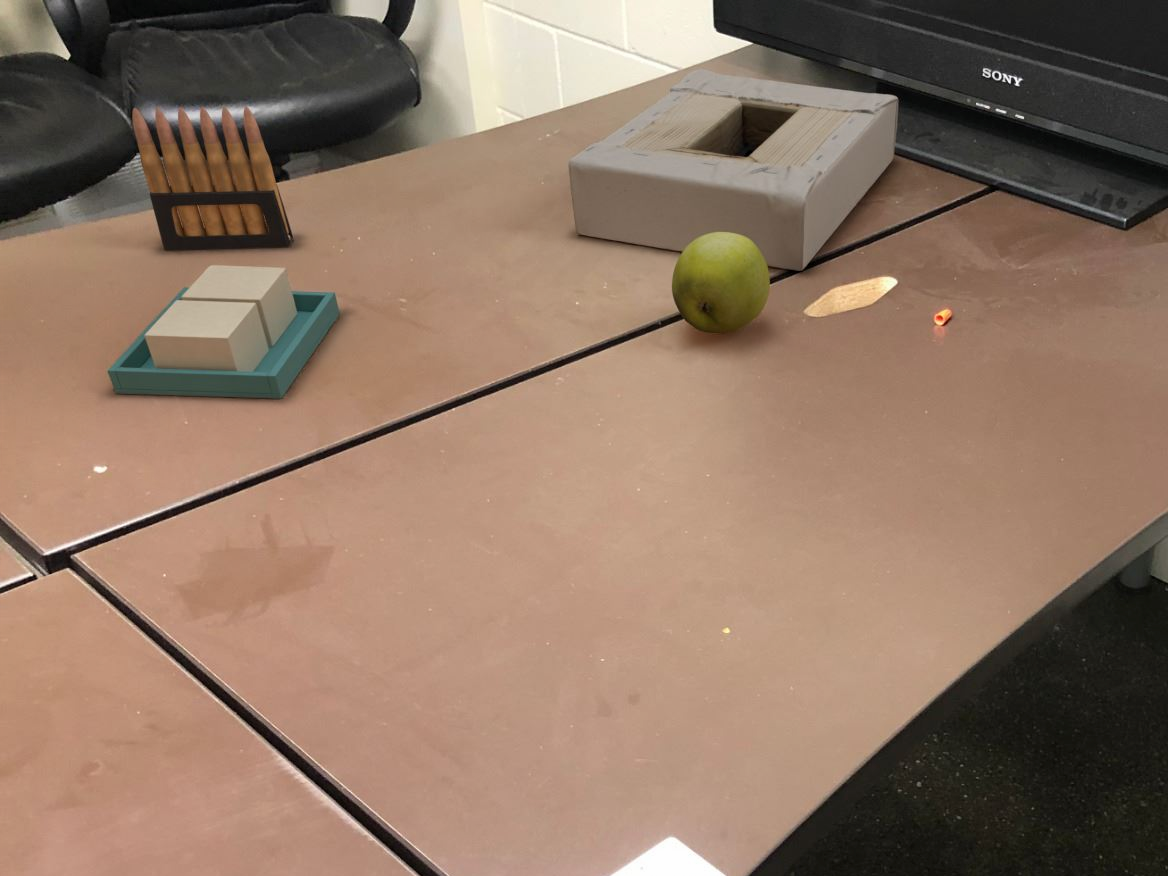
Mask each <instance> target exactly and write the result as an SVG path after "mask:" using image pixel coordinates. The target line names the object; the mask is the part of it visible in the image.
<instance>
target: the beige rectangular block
mask: <svg viewBox="0 0 1168 876" xmlns="http://www.w3.org/2000/svg"><path fill="white" fill-rule="evenodd" d="M189 287H190V288H189V289H188V290H187V291H186V292H185V293H184V294H183V295H182V297H181V298H182V300H187V301H215V302H244V303H256V305H257V309H258V312H259V316H260V320H261V323H262V327H263V330H264V334H265V337H266V341H267V344H268V347H273V346H274V345H275V344H276V342H277V341H278V340H279V338H280V337H281V335H282V334H283V333H284V331H285V330H286V329H287V327H288V326H289V325H290V323H291V322H292V321H293V319H294V318H295V317H296V315H297V310H296V306H295V302H294V298H293V294H292V291H293V290H292V287H291V283H290V279H289V275H288V272H287V268H286V267H275V266H273V267H272V266H249V265H248V266H246V265H245V266H244V265H221V264H220V265H219V264H217V265H214V264H210V265H209V266H208V267H207V268H206V269H205V270H204V271H203V272H202V273H201V275H200V276H198V277H197V278H196V280H195V281H194V282H193V283H192V284H191V285H190V286H189Z"/></svg>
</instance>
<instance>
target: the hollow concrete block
mask: <svg viewBox="0 0 1168 876" xmlns="http://www.w3.org/2000/svg"><path fill="white" fill-rule="evenodd" d="M898 115H899V98H898V97H897V96H896V95H893V94H886V93H885V94H883V93H876V92H872V93H870V92H862V91H854V90H847V89H846V90H845V89H838V88H831V87H824V86H823V87H822V86H815V85H809V84H801V83H800V84H799V83H792V82H785V81H777V80H772V79H771V80H769V79H763V78H762V79H761V78H755V77H747V76H746V77H745V76H739V75H732V74H725V73H718V72H715V71H712V70H707V69H700V68H699V69H694V70H692V71H690V72H689V73H688V74H686V76H684V77H683V78H682V79H681V81H679V82H678V83H676V84H674V85H673V86H671V87H670V89H669V92H668V93H667V94H665V95H664V96H663V97H661V98H660V99H658V100H657V101H655V103H653V104H652V105H650V106H648V108H646V109H644V110H643V111H641V113H639V114H638V115H636V116H634V117H633V118H632V119H631V120H629V121H627V122H626V123H625V124H624V125H621V126H620V127H619V128H617V129H616V130H615V131H613V132H612V133H611V134H609V135H608V136H606V137H605V138H604V139H602V140H601V141H596V142H593V143H591V144H590V145H588V146H586V148H584V149H583V150H581V151H580V152H578V153H577V154H576V155H574V156H573V157H572V158H570V159H569V161H568V173H569V174H568V175H569V186H570V195H571V203H572V212H573V220H574V226H575V231H576V233H577V234H579V235H582V236H586V237H592V238H599V239H604V240H611V241H616V242H617V241H618V242H623V243H628V244H635V245H640V246H641V245H642V246H645V247H646V246H647V247H652V248H657V249H664V250H670V251H676V252H681V253H682V252H683V251H684V249H685V248H686V247H687V246H688V245H689V244H690V243H691V242H693V241H694V240H695V239H697V238H699V237H701V236H703V235H706V234H709V233H714V232H729V233H735V234H739V235H742V236H745V237H747V238H749V239H750V240H751V241H752V242H753V243H754V244H755V245H756V246H757V247H758V249H759V250H760V252H761V253H762V255H763V257H764V259H765V261H766V263H767V267H773V268H778V269H779V268H780V269H784V270H792V271H799V272H801V271H803V270H804V269H805V268H806V267H807V266H808V264H809V263H810V262H811V261H812V260H813V258H814V257H815V256H816V254H817V253H818V252H819V251H820V249H821V248H822V247H823V246H824V244H825V243H826V242H827V241H828V240H829V238H831V236H832V235H833V234H834V233H835V231H836V230H837V229H838V228H839V226H840V225H841V224H842V223H843V221H844V220H845V219H846V218H847V216H848V215H849V214H850V213H851V211H853V209H854V208H855V207H856V206H857V204H858V203H859V202H860V201H861V199H862V198H863V197H864V196H865V195H866V193H867V192H868V191H869V189H870V188H871V187H872V186H873V185H874V183H876V181H877V180H878V179H879V178H880V176H881V175H882V174H883V173H884V172H885V170H886V169H887V168H888V167H889V165H890V164H891V163H892V162H893V160H894V157H895V147H896V139H897V131H898V120H899V119H898Z"/></svg>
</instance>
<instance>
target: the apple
mask: <svg viewBox="0 0 1168 876" xmlns="http://www.w3.org/2000/svg"><path fill="white" fill-rule="evenodd" d="M672 273H673V274H672V280H671V293H672V298H673V301H674V304H675V306H676V308H677V310H678V313H679V314H680V316H681V318H682V319H683V320H684V321H685V322H686V323H687V324H688V325H690V326H691V327H693V328H694V329H695V330H697V331H699V332H701V333H704V334H715V335H716V334H720V335H721V334H729V333H733V332H736V331H739V330H741V329H742V328H744V327H746V326H747V325H749V324H750V323H752V322H753V321H755V320H756V319H757V318H758V317H759V316H760V314H761V313H762V311H763V310H764V308H765V307H766V304H767V301H768V298H769V295H770V292H771V291H770V290H771V279H770V272H769V266H767V263H766V261H765V259H764V257H763V255H762V253H761V252H760V250H759V249H758V247H757V246H756V245H755V244H754V243H753V242H752V241H751V240H750V239H749V238H747V237H745V236H742V235H739V234H735V233H729V232H714V233H709V234H706V235H703V236H701V237H699V238H697V239H695V240H694V241H693V242H691V243H690V244H689V245H688V246H687V247H686V248H685V249H684V251H683V252H682V251H681V254H680V255H679V257H678V259H677V261H676V264H675V266H674V270H673V272H672Z"/></svg>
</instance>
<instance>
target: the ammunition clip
mask: <svg viewBox="0 0 1168 876" xmlns="http://www.w3.org/2000/svg"><path fill="white" fill-rule="evenodd" d="M154 115H155V120H154V121H155V128H156V133H157V137H158V140H159V145H160V149H161V153H162V158H161V157H160V154H159V152H158V151H157V147H156V145H155V142H154V140H153V137H152V134H151V130H150V129H149V127H148V124H147V122H146V121H145V119H144V117H143V115H142V114H141V112H140V111H139V110H138V109H137V108H136V107H133V109H132V125H133V126H132V127H133V132H134V136H135V139H136V142H137V147H138V152H139V158H140V164H141V167H142V171H143V174H144V176H145V180H146V183H147V187H148V190H149V198H150V202H151V205H152V209H153V212H154V216H155V220H156V225H157V229H158V232H159V236H160V239H161V240H160V241H161V243H162V246H163V251H166V252H167V251H170V252H171V251H199V250H200V251H202V250H233V249H235V250H237V249H267V248H268V249H269V248H289V247H290V246H291V245H292V243H293V241H294V234H293V232H292V231H293V230H292V229H291V225H290V222H289V218H288V215H287V213H286V209H285V206H284V202H283V199H282V196H281V193H280V190H279V186H278V183H277V182H276V178H275V174H274V169H273V166H272V163H271V159H270V156H269V154H268V152H267V150H266V147H265V144H264V140H263V138H262V134H261V131H260V127H259V125H258V123H257V120H256V118H255V116H254V114H253V112H252V111H251V109H250V108H249V107H248V106H244V108H243V127H244V133H245V137H246V142H247V148H248V155H247V153H246V150H245V148H244V145H243V142H242V139H241V137H240V132H239V130H238V127H237V125H236V122H235V120H234V117H233V115H232V114H231V112H230V111H229V110H228V108H227V107H226V106H223V107H222V109H221V125H222V131H223V135H224V136H223V137H224V141H225V145H226V151H227V156H226V154H225V151H224V150H223V146H222V143H221V141H220V139H219V135H218V132H217V129H216V126H215V124H214V121H213V119H212V118H211V116H210V114H209V112H208V111H207V110H206V108H204V107H203V106H202V107H200V111H199V123H200V130H201V136H202V139H203V144H204V148H205V154H206V155H204V153H203V151H202V149H201V146H200V143H199V140H198V137H197V134H196V131H195V129H194V126H193V124H192V122H191V120H190V118H189V116H188V114H187V113H186V111H185V110H184V109H183V107H178V110H177V122H178V123H177V124H178V130H179V136H180V138H181V142H182V147H183V151H184V157H183V156H182V153H181V151H180V149H179V147H178V143H177V141H176V137H175V135H174V132H173V129H172V128H171V125H170V122H169V121H168V119H167V117H166V115H165V114H164V112H163V111H162V110H161V109H160V108H159V107H156V108H155V112H154Z"/></svg>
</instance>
